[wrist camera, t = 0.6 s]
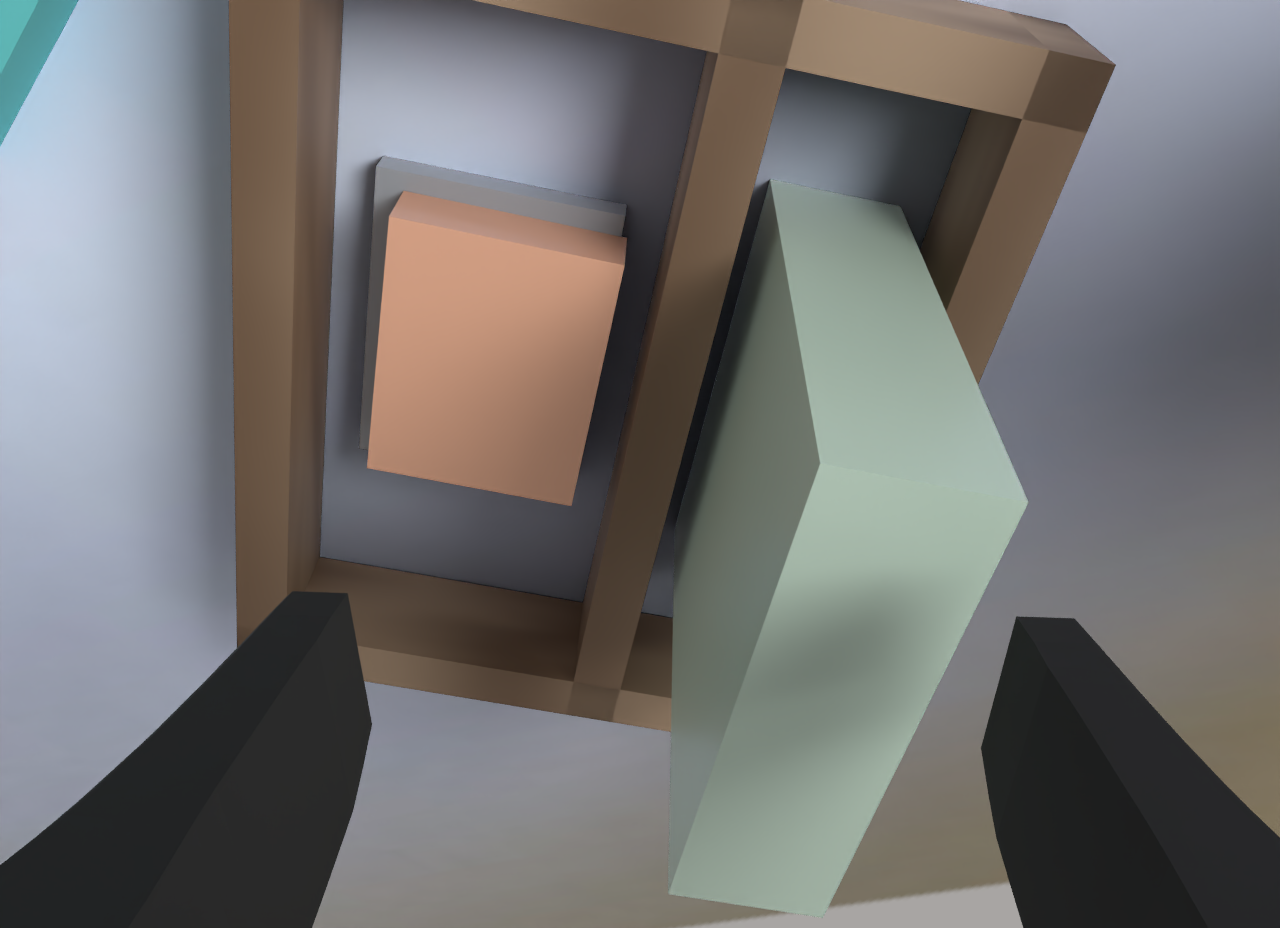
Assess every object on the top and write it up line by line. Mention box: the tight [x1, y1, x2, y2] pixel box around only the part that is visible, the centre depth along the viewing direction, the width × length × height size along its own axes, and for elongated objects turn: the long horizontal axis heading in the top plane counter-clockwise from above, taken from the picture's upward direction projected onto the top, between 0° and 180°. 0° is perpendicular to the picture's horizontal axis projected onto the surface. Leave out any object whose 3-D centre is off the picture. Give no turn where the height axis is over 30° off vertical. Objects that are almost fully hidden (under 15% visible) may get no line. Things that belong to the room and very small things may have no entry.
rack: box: [229, 0, 1116, 732], centre depth 20 cm, size 13×15×2 cm
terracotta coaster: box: [367, 191, 627, 506], centre depth 20 cm, size 4×5×1 cm
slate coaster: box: [359, 156, 627, 450], centre depth 21 cm, size 4×6×1 cm
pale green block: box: [668, 179, 1028, 918], centre depth 18 cm, size 2×8×9 cm, turn 169°
